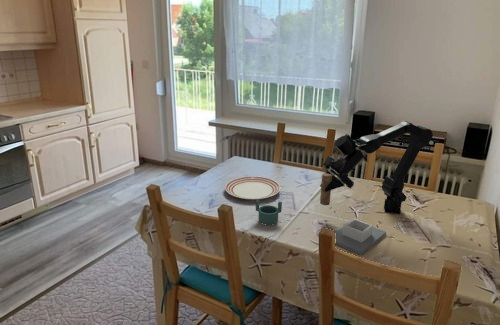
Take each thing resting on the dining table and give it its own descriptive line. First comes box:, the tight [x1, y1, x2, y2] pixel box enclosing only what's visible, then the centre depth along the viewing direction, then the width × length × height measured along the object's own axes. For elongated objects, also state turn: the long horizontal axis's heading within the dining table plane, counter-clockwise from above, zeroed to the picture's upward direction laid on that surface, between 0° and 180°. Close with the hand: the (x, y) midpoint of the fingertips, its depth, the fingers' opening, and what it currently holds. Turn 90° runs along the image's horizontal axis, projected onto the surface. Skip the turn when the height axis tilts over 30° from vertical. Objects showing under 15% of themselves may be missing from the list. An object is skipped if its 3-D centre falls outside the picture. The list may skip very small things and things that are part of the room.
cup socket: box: [334, 218, 387, 256], centre depth 138 cm, size 20×14×5 cm
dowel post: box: [319, 173, 332, 206], centre depth 150 cm, size 4×4×12 cm
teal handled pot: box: [255, 199, 283, 226], centre depth 150 cm, size 9×9×9 cm
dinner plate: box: [224, 175, 282, 201], centre depth 179 cm, size 27×27×3 cm
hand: (322, 189), depth 149 cm, fingers closed on dowel post, 4 cm apart
